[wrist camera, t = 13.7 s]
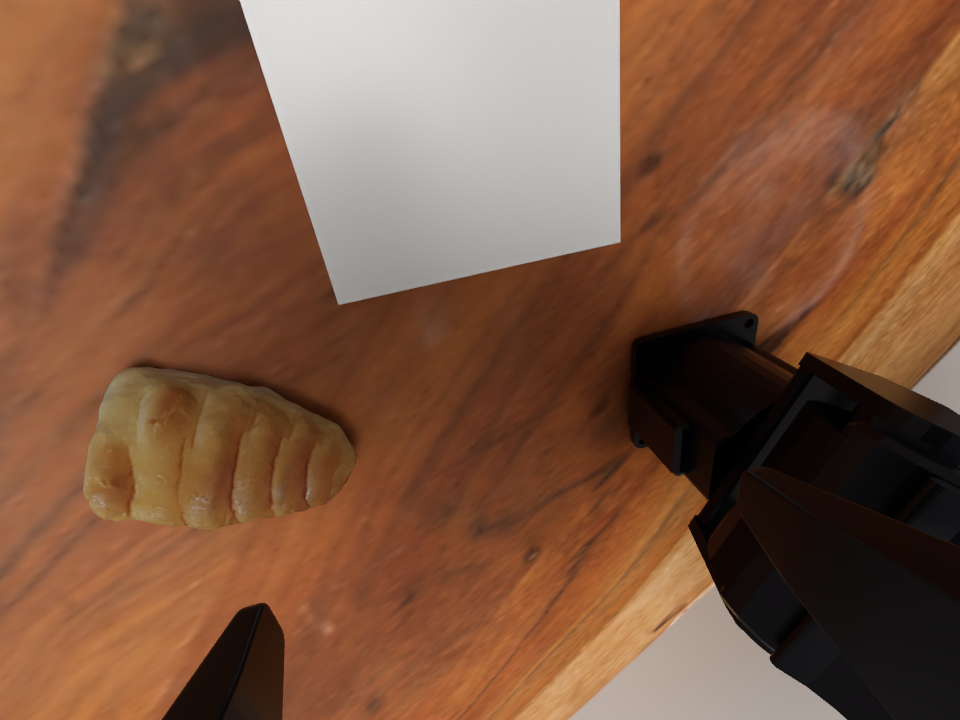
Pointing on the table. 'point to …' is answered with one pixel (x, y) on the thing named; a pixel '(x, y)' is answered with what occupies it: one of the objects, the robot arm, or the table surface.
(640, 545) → the table surface
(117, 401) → the pastry
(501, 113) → the stand
